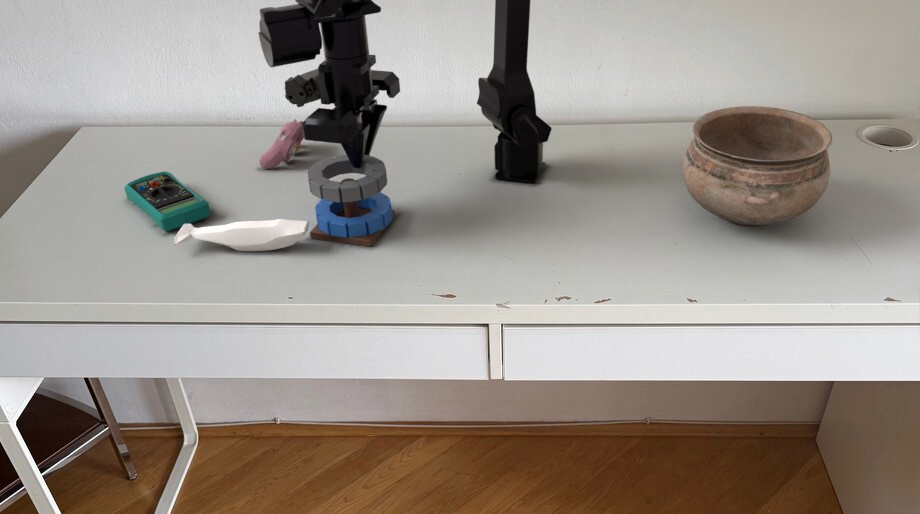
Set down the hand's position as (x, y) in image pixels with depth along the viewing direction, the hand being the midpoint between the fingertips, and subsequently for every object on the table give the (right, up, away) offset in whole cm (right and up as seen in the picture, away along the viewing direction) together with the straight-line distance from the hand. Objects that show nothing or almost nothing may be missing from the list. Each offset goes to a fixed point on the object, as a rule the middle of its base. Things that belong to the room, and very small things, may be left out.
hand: (360, 163), depth 122 cm
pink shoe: (-14, +5, +21) cm, 25 cm away
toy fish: (-15, -12, -2) cm, 20 cm away
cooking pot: (+54, -7, 0) cm, 54 cm away
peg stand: (-1, -9, +1) cm, 9 cm away
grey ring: (-1, -3, -3) cm, 4 cm away
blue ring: (-1, -7, +1) cm, 8 cm away
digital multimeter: (-29, -5, +8) cm, 31 cm away
